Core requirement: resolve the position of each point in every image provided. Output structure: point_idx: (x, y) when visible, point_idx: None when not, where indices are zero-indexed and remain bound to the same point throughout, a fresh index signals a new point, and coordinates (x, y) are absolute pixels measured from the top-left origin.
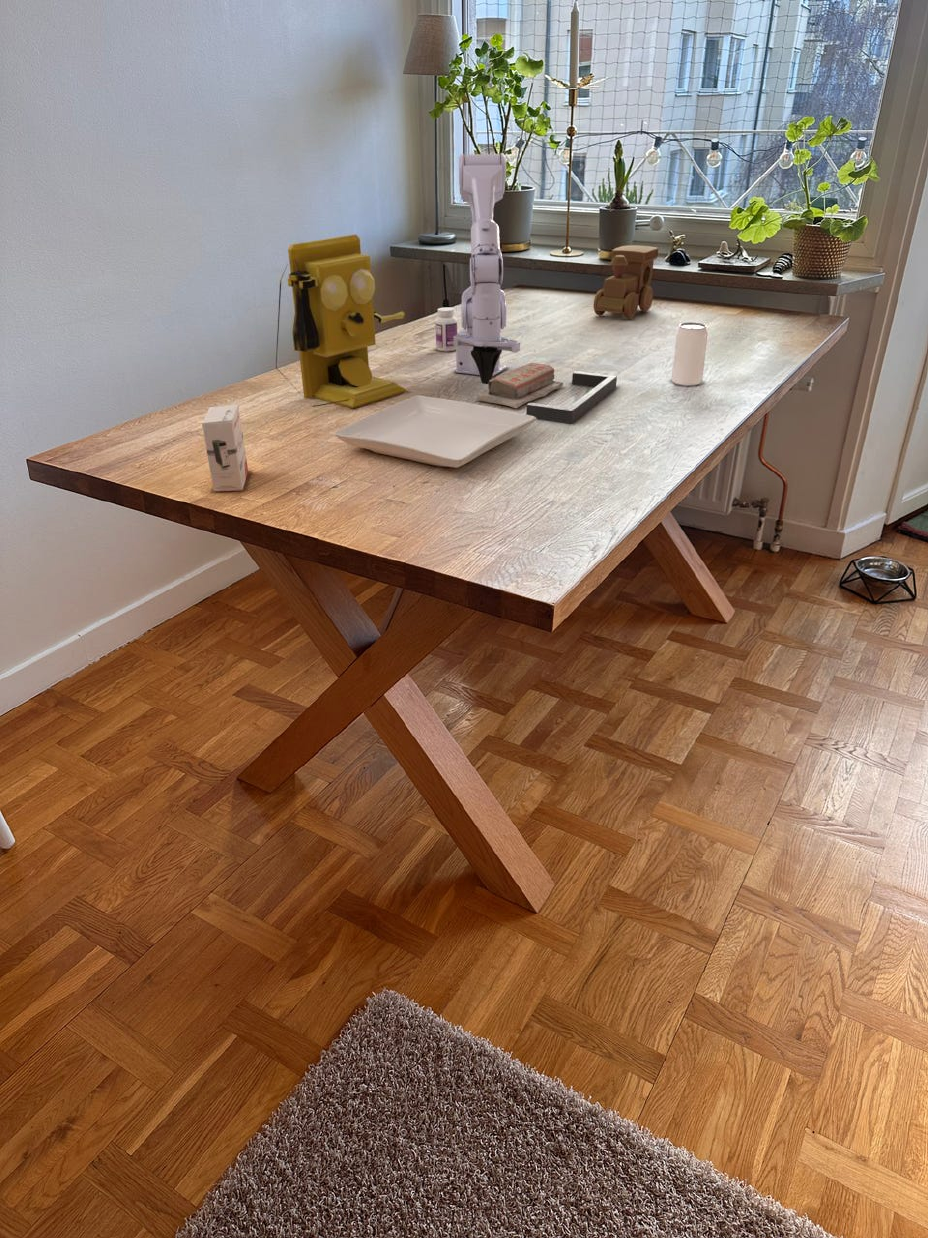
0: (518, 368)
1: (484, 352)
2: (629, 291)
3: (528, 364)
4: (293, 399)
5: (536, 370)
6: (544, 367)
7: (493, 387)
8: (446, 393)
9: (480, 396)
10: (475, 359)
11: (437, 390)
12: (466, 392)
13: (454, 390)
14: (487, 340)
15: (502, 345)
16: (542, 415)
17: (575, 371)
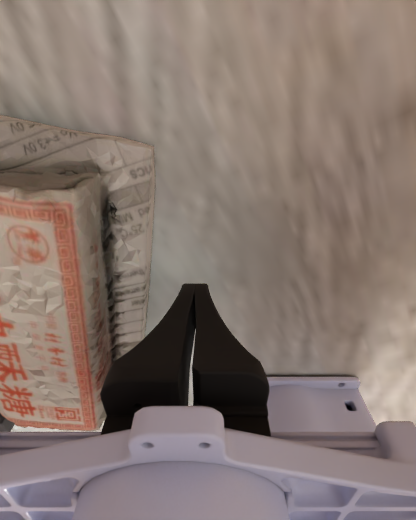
0: (78, 376)
1: (154, 380)
2: None
3: (86, 416)
4: None
5: (6, 378)
6: (14, 408)
7: (58, 178)
8: (327, 193)
9: (129, 140)
10: (230, 344)
11: (374, 214)
12: (253, 235)
13: (307, 239)
14: (111, 485)
15: (15, 457)
16: None
17: (4, 431)
